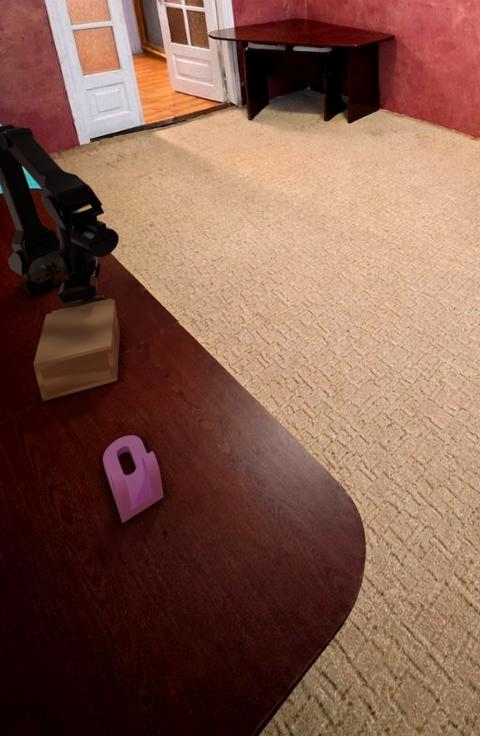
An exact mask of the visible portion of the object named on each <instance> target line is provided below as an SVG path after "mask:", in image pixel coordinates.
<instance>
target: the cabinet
mask: <svg viewBox="0 0 480 736" xmlns="http://www.w3.org/2000/svg"><path fill="white" fill-rule="evenodd" d="M120 336H121V331H120V324H119V318H118V313H117V306H116V301H115V299H112V300H110V301H106V302H101V303H96V304H92V305H87V306H82V307H78V308H73V309H68V310H64V311H59V312H54V313H52V312H49V313H46V314H45V318H44V322H43V325H42V330H41V334H40V338H39V342H38V345H37V349H36V353H35V356H34V361H33V368H34V373H35V376H36V381H37V385H38V388H39V389H38V390H39V392H40V397H41V401H42V402H46V401H49V400H53V399H57V398H60V397H63V396H67V395H71V394H75V393H78V392H83V391H85V390H88V389H89V390H90V389H93V388H96V387H99V386H103V385H106V384H110V383H115V382H117V381H118V374H119V373H118V371H119V357H120V356H119V355H120V338H121V337H120Z"/></svg>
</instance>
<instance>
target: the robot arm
mask: <svg viewBox="0 0 480 736" xmlns="http://www.w3.org/2000/svg"><path fill="white" fill-rule="evenodd" d="M25 171H26V173H27V174H29V176H30V177H31V178H32V179H33V180H34V182H35V183H36V184H37V185H38V187H39V188H40V189H41V197H40V199H41V201H42V204H43V207H44V209H45V210H46V212H47V213H48V214H49V216H50V217H51V218H52V219H53V221H54V222H55V226H56V231H55V230H54V229H52V228H50V227H48V226H46V225H45V224H44V223H43V222H42V219H41V217H40V216H41V215H40V213H39V211H38V208H37V205H36V201H35V198H34V196H33V193H32V191H31V187H30V185H29V182H28V179H27V176H26V173H25ZM0 189H1V192H2V194H3V197H4V200H5V202H6V205H7V209H8V210H9V214H10V216H11V219H12V221H13V225H14V228H15V232H14V235H13V237H12V241H11V246H12V250H13V252H12V254H11V256H10V257H9V258H8V260H7V263H8V265H9V268H10V269H11V271H12V272H14V273H16V274H18V275H19V276H21V277H22V276H23V281H24V282H23V283H21V284H19V288H20V289H21V290H23V292H25V294H27V295H28V296H29V297H30V298H35V297H36V296H39V295H41V294H43V293H45V292H49V291H50V290H52V289H55V288H56V287H59V291H58V300H59V303H60V304H62V305H64V304H68V303H69V302H74V301H79V300H83V299H88V298H93V297H97V296H98V290H99V283H100V282H99V281H100V276H101V275H100V273H101V267H102V264H101V263H99V262H98V260H99V259H98V258H104V257H107V256H109V255H111V254H112V253H113V252H114V251H115V249H116V248H117V246H118V244H119V242H120V241H119V240H120V236H119V234H118V232H117V231H116V230H115V229H113V228H111V227H109V226H107V224H106V222H104V221H101V220H98V217H99V216H101V215H104V214H105V210H104V209H103V207H102V206H103V203H102V201H101V200H100V199H99V197H98V196H97V195H96V192H95V191H94V190H93V188H92V187H91V186H90V185H89V184H88V183H86V182H85V181H84V180H83V179H82V178H81V177H79V176H78V175H77V174H75V173H71V172H67V171H65V170H64V169H62V168H61V166H60V165H59V164H58V163H57V162H56V161H55V159H53V157H52V156H51V154H50V153H48V151H47V150H45V149H44V147H43V146H42V145H41V144H40V142H39V141H38V140H37V139H36V138H35V136H34V132H33V131H32V129H31V128H30V127H28V126H18V127H16V126H15V125H13V124H12V123H7V124H4V125H3V124H2V125H0ZM89 206H90V208H87V207H89ZM84 208H87V209H85V210H82V211H81V209H84ZM57 235H58V236H57ZM59 274H61V277H64V276H65V277H67V278H68V279H64V281H62V280H61V279H60V278H58V277H57V275H59Z"/></svg>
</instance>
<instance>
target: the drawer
mask: <svg viewBox="0 0 480 736" xmlns="http://www.w3.org/2000/svg"><path fill="white" fill-rule="evenodd" d="M110 300H113V298H107V299H105V295H104V294H102V295H97V296H95V297H93V298H88V299H83V300H78V301H74V302H69V303H67V307H66V308H60V309H57V310H52V311H51V313H54V312H59V311H64V310H68V309H73V308H78V307H82V306H87V305H92V304H96V303H101V302H106V301H110Z"/></svg>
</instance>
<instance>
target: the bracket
mask: <svg viewBox="0 0 480 736" xmlns="http://www.w3.org/2000/svg"><path fill="white" fill-rule="evenodd" d="M125 453H129V454H130V456H131V459H132V461H133V465H134V467H135V470H134V472H132V473H131V474H124V470H123V469H122V467H121V466H122V465H121V462H120V460H119V458H120V456H121V455H123V454H125ZM102 463H103V467H104V470H105V474H106V478H107V480H108V483H109V486H110V490H111V493H112V495H113V499H114V502H115V505H116V508H117V510H118V514H119V517H120V520H121V523H122V524H123V523H125V522H127V521H129V520H130V519H132V518H133V517H135V516H136V515H138V514H139V513H141V512H143V511H144V510H146V509H148V508H150V507H151V506H152V505H153V504H155V503H157V502H158V501H160V500H162V499H163V498H164V491H163V484H162V477H161V471H160V466H159V463H158V460H157V456H156V455H155V453H154V451H153V450H151V451H150V452H147V450H146V447H145V445H144V442H143V440H142V439H141V437H139V436H137V435H134V434H133V435H131V434H130V435H129V434H128V435H125V436H122V437H119V438H117V439H115V440H114V441H113V442H112V443H111V444H109V446H107V448H106V449H105V450H104V453H103V456H102Z"/></svg>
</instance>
